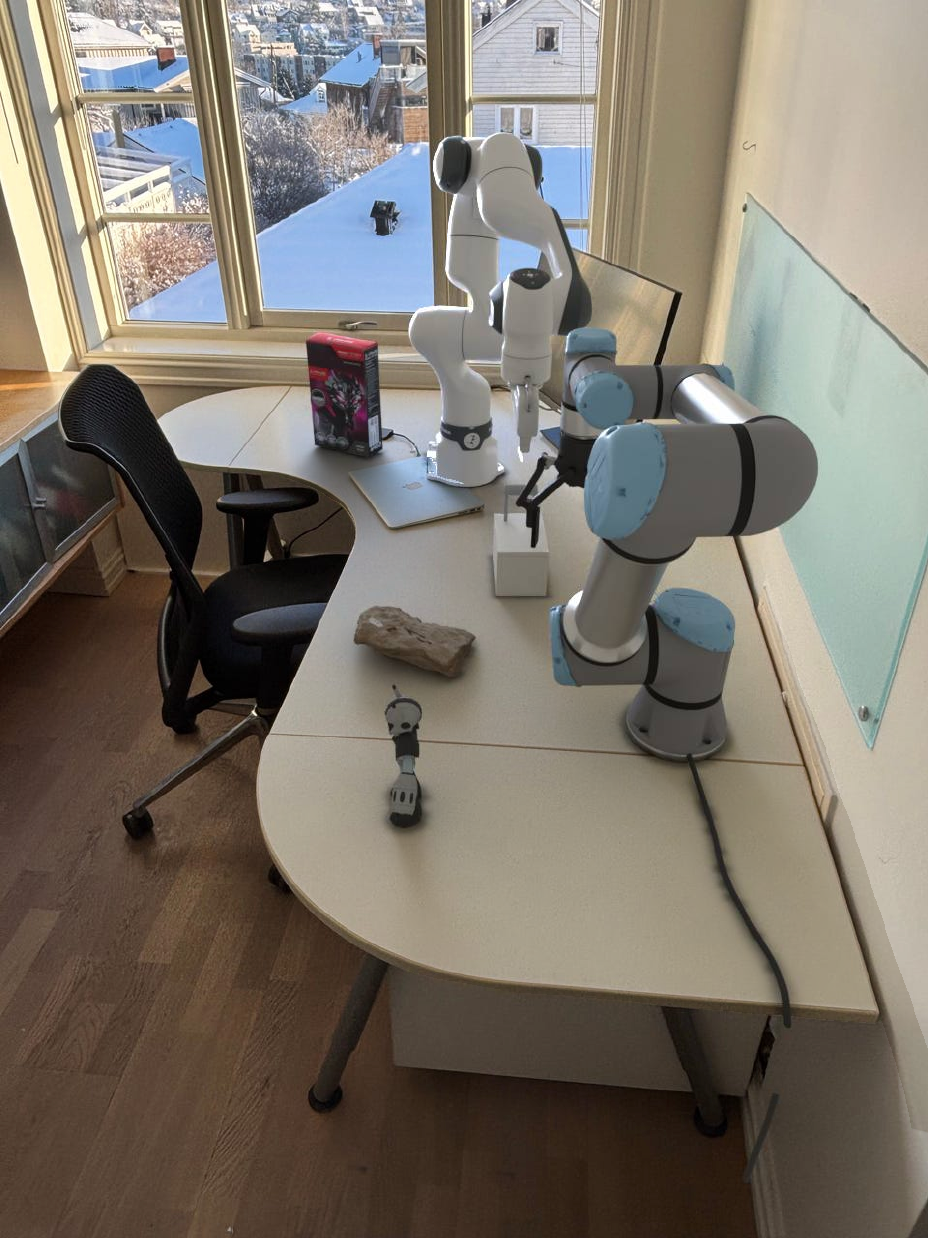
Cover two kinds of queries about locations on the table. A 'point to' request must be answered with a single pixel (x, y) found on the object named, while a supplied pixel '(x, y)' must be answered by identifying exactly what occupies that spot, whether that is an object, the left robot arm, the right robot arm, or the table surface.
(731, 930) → the table surface
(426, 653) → the stone
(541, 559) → the chest
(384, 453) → the table surface
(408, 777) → the robot
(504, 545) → the lid
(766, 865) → the table surface
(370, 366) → the graphics card box
